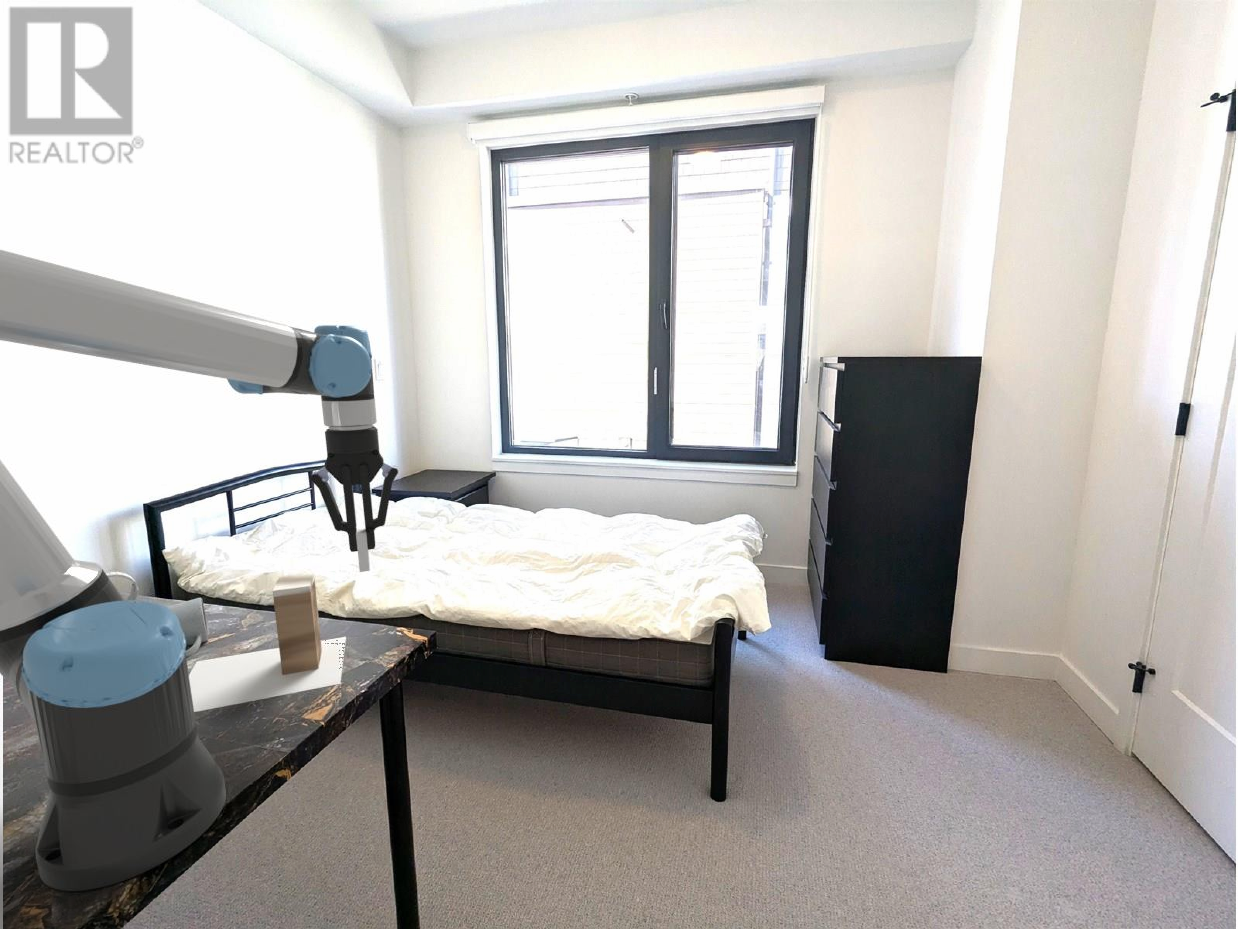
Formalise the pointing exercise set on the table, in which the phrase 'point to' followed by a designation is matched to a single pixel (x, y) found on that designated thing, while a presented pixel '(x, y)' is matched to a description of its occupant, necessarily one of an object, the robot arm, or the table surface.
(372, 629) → the table surface
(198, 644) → the ceramic mug
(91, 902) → the table surface
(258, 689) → the white mat
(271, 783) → the table surface
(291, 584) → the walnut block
